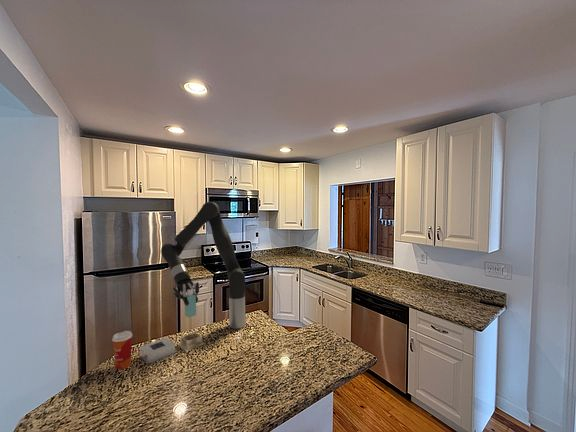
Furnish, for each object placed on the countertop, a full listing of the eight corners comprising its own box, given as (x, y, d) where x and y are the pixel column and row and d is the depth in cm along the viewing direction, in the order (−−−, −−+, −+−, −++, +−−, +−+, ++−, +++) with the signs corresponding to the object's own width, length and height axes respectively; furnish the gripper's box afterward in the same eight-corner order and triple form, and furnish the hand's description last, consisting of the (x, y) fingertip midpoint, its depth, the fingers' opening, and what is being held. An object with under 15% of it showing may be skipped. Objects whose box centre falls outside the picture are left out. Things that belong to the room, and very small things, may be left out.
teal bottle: (192, 312, 132) (191, 287, 132) (196, 315, 129) (195, 289, 129) (184, 315, 129) (184, 289, 129) (188, 317, 126) (187, 291, 126)
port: (166, 346, 128) (166, 337, 128) (175, 354, 122) (174, 344, 121) (140, 357, 120) (139, 346, 120) (147, 365, 113) (147, 355, 113)
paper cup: (111, 365, 113) (110, 334, 113) (131, 358, 119) (130, 328, 118) (115, 373, 108) (114, 340, 107) (135, 365, 113) (134, 334, 113)
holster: (195, 338, 137) (195, 330, 137) (205, 344, 130) (205, 336, 130) (177, 345, 129) (176, 337, 129) (186, 353, 122) (186, 344, 122)
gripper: (169, 273, 129) (180, 303, 121) (195, 268, 139) (207, 295, 131) (165, 282, 132) (175, 311, 124) (191, 276, 143) (202, 303, 135)
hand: (192, 303), depth 128 cm, fingers closed on teal bottle, 4 cm apart
